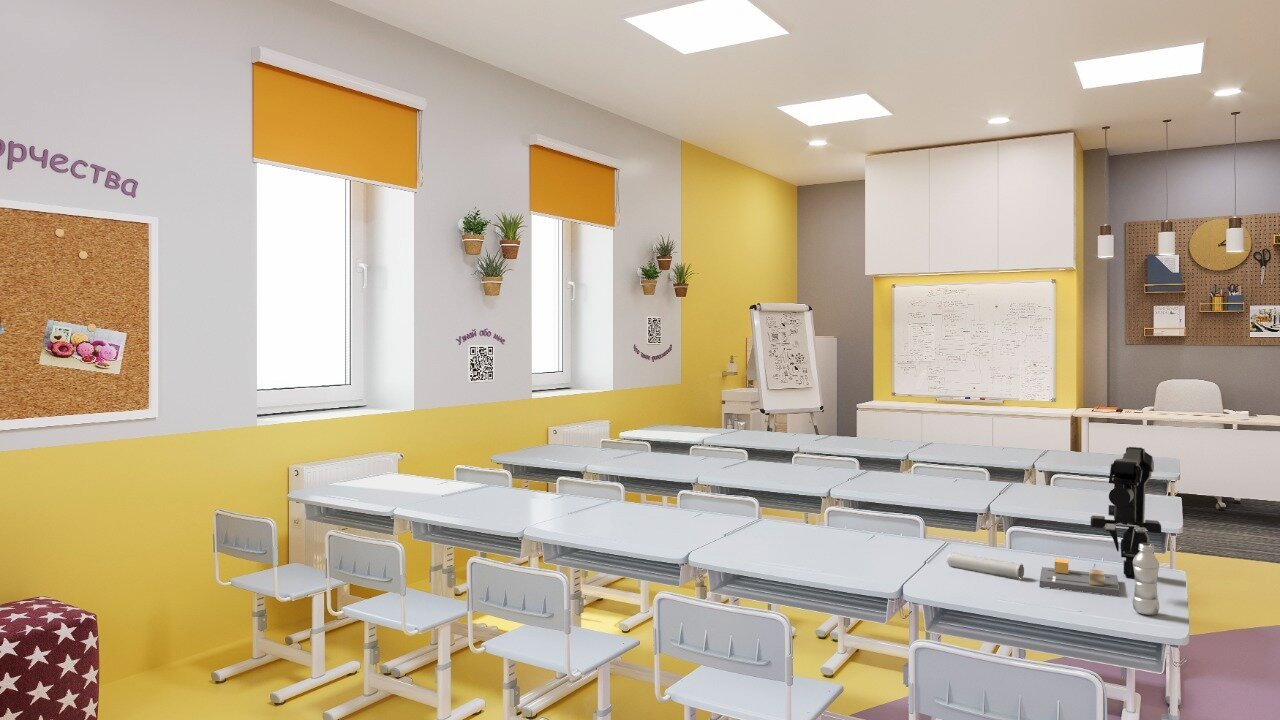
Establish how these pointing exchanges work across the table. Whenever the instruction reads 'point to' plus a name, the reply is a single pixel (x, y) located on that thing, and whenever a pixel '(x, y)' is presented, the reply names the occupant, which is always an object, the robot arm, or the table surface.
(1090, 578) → the oak fader
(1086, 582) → the fader panel
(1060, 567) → the block
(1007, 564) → the tube
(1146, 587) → the plastic bottle
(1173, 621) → the table surface
